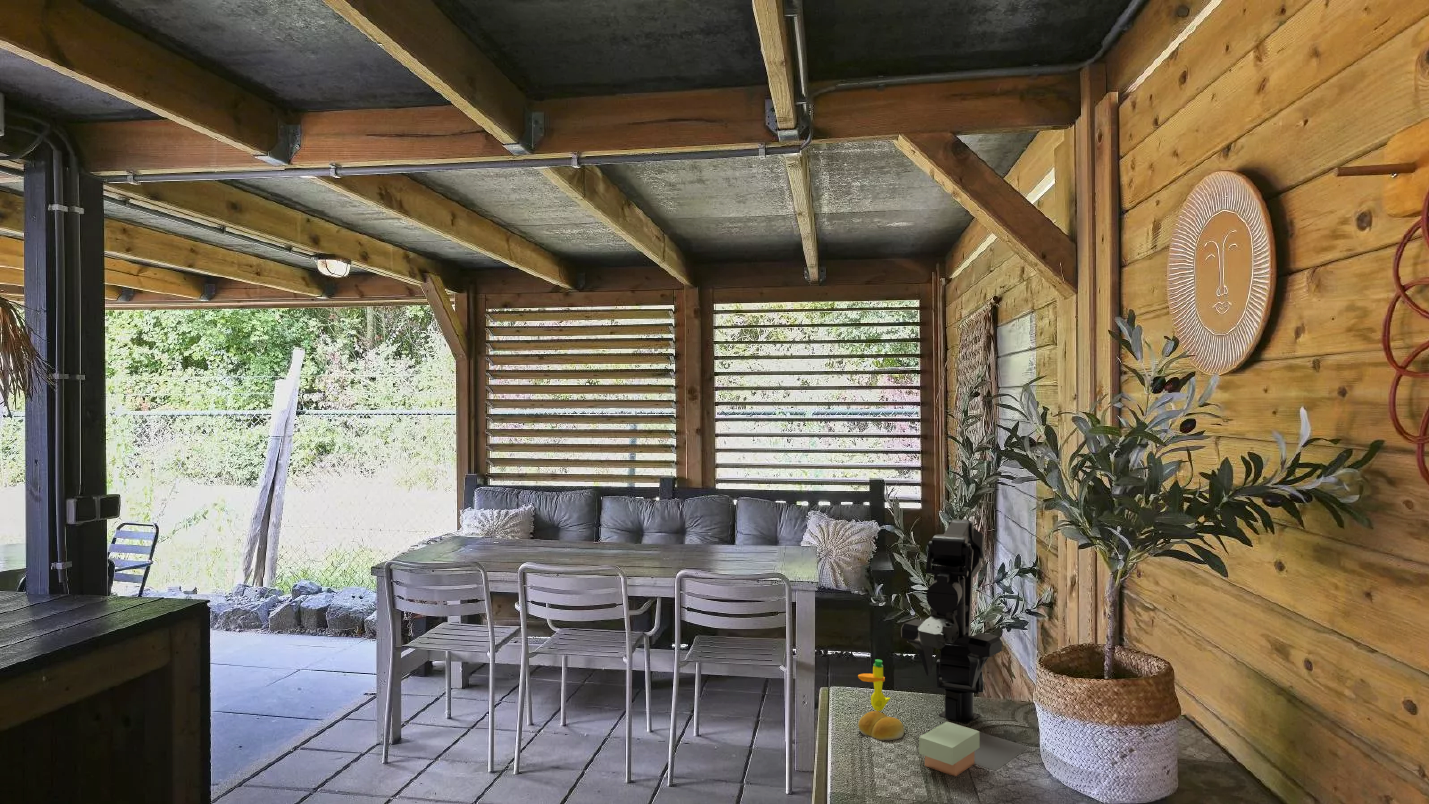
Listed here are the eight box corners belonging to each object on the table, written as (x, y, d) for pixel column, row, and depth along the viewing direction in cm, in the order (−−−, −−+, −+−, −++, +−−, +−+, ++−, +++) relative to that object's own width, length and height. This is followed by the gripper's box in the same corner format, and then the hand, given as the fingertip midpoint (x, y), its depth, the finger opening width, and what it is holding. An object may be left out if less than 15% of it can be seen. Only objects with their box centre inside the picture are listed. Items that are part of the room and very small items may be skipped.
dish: (944, 756, 148) (944, 740, 148) (974, 766, 144) (974, 749, 144) (924, 768, 143) (924, 751, 143) (955, 779, 139) (955, 762, 139)
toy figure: (858, 718, 166) (857, 661, 166) (858, 712, 170) (858, 656, 170) (890, 721, 165) (890, 663, 165) (891, 714, 168) (890, 658, 168)
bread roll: (888, 747, 153) (888, 726, 153) (851, 733, 159) (851, 713, 159) (913, 735, 158) (913, 715, 158) (877, 722, 165) (877, 702, 165)
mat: (979, 734, 158) (979, 731, 158) (1029, 749, 151) (1029, 746, 151) (944, 756, 148) (944, 753, 148) (995, 773, 141) (995, 770, 141)
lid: (947, 737, 149) (946, 721, 149) (979, 747, 145) (979, 731, 145) (919, 753, 142) (919, 737, 142) (952, 765, 138) (952, 748, 138)
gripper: (885, 600, 155) (885, 680, 155) (975, 617, 142) (975, 705, 141) (915, 590, 163) (915, 666, 163) (1003, 606, 149) (1003, 689, 149)
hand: (950, 681), depth 154 cm, fingers open, 9 cm apart
